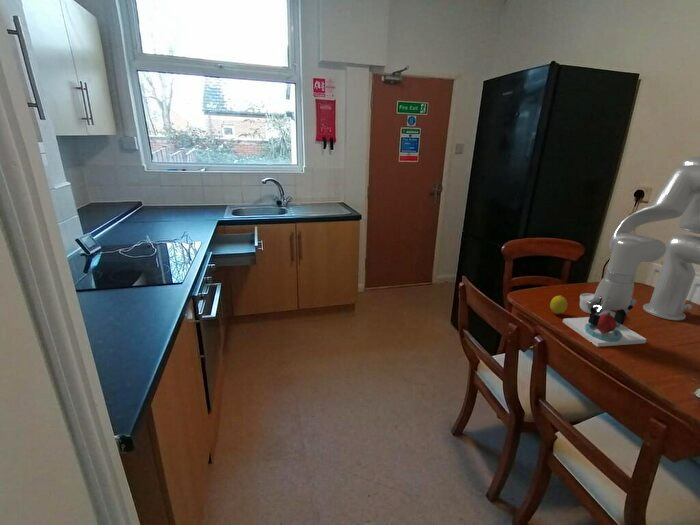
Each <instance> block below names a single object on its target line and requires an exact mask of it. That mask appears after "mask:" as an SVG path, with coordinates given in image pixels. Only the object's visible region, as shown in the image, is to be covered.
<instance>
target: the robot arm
mask: <svg viewBox="0 0 700 525" xmlns="http://www.w3.org/2000/svg"><path fill="white" fill-rule="evenodd" d="M677 218H679V223H678V224H679V228H680V229H681V230H683V231H684V232H689V233H694V234H698V235H700V155H699V156H690V157H687V158H685V159H683V160H682V161H681V163H680V164H679V166H678V167H676V168H675V169H674V170H673V171H671V173H670V175H669V176H668V177H667V179H666V181H665V182H664V184H663V185H662V187H661V188H660V190H659V191H658V193H656V196H655V198H654V199H653V200H652V202H651V203H650V204H649V205H647V206H645V207H643V208H640V209H638V210H637V211H634V212H633V213H631V214H629V215H628V216H626V217H625V218H624V219H623V220H622V221H621V222H620V223H619V225H618V226H617V227H616V229H615V230H614V232H613V234H612V235H611V238H610V239H609V242H608V248H609V250H610V251H611V253H610V257H609V259H608V260H609V261H608V264H607V268H606V271H605V275H604V277H603V278H601V280H600V282H599V283H598V285H597V287H596V290H595V293H594V294H595V295H594V298H593V299H592V300H590V301H588V302H587V305H588V309H589V311H590V312H591V313H590V314H589V316H588V317H589V320H588V322H589V323H591V324H592V325H594V326H597V325H598V322H599V319H600V316H599V314H600V313H601V312H602V311H603V310H610V311H615V313H616V314H615V317H614V319H615V321H616V322H618V323H619V324H622V325H624V323H625V320H626V318H627V315H628V314H629V313H630V311H631V310H632V309H633V307H634V306H635V304H636V303H637V302H638V301H637V300H636V299H634V298H633V294H634V288H635V282H634V281H635V280H636V277H637V272H638V270H639V267H640V264H641V263H651V262H652V263H653V262H656V261H658V260H660V259H662V257H664V260H663V263H662V267H661V270H660V272H659V276H658V278H657V280H656V283H655V286H654V289H653V292H652V295H651V298H650V301H649V303H644V304H643V305H642V309H643V310H644V311H645V312H646V313H648V314H650V315H652V316H655V317H658V318H661V319H665V320H669V321H683V320H685V319H686V314H685V312H684V311H685V310H691V309H692V308H693V306H692V305H691V304H690V303H689V304H686V300H687V298H688V295H689V293H690V290H691V287H692V285H693V284H694V283H693V282H694V280H695V278H696V269H695V267H694V265H698V266H700V236H697V235H694V234H692V235H691V234H685V233H681V234H675V235H673V236H671V237H670V238H669V239H668V240H667V242H666V244H665V242H664V241H662V240H660V239H658V238H654V237H650V236H646V235H645V236H644V235H642V234H636V233H632V232H633V231H634V230H635V229H636V228H639V227H640V226H642V225H645V224H648V223H652V222H654V223H655V222H661V221H665V220H666V221H667V220H671V219H672V220H673V219H677ZM600 305H601V306H602V307H601V306H600ZM597 308H599V310H597V311H596V309H597Z"/></svg>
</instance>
